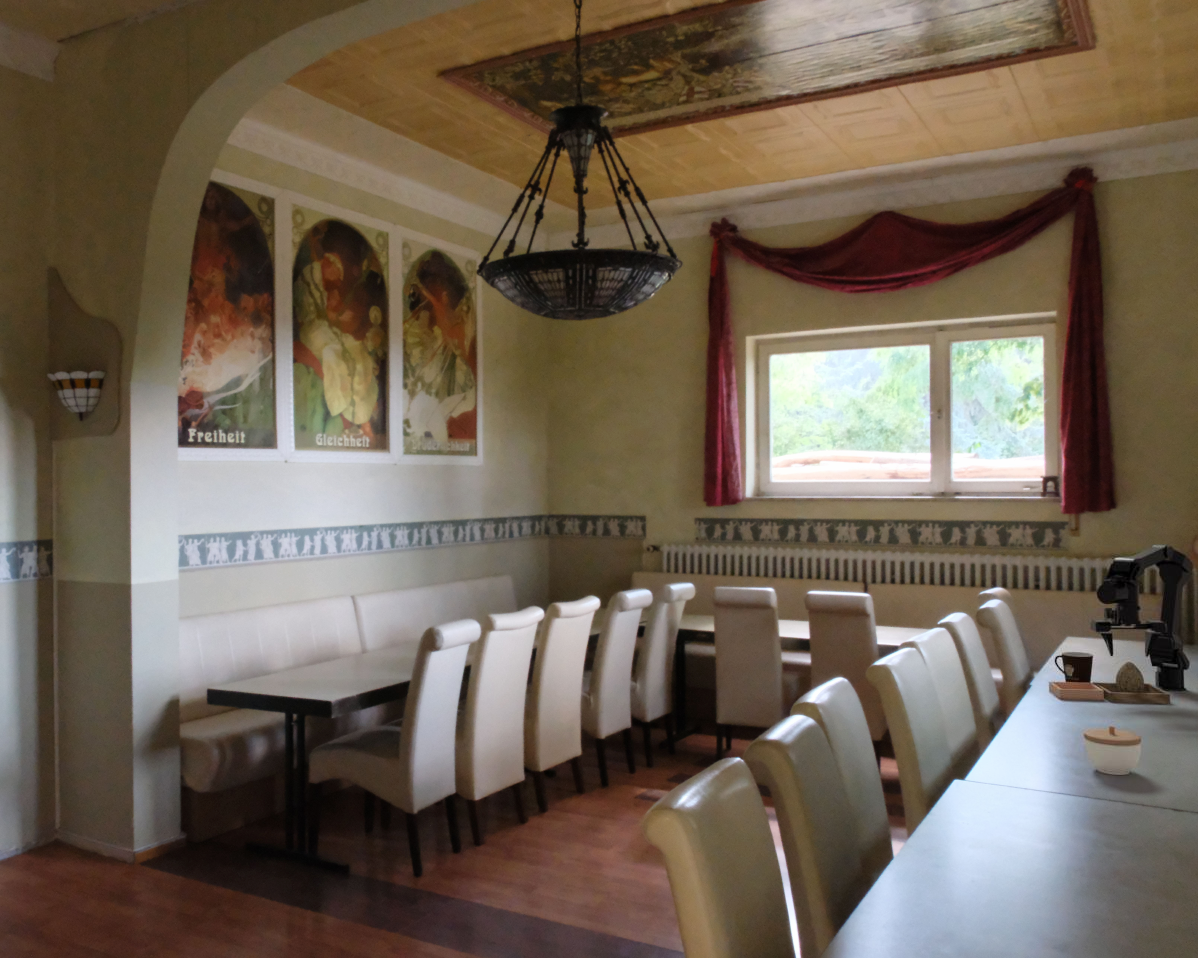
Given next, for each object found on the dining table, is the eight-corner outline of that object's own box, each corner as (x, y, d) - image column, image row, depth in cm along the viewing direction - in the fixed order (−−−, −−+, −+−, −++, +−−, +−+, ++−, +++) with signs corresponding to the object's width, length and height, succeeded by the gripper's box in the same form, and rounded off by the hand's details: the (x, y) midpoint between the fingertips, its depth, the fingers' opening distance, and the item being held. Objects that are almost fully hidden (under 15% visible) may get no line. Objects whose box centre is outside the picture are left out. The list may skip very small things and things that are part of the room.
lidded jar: (1140, 781, 198) (1139, 734, 198) (1082, 773, 203) (1080, 728, 204) (1143, 768, 207) (1142, 724, 207) (1087, 761, 213) (1086, 718, 213)
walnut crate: (1150, 691, 284) (1149, 683, 284) (1170, 703, 269) (1170, 694, 269) (1092, 690, 287) (1092, 682, 287) (1109, 701, 272) (1109, 692, 272)
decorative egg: (1148, 699, 274) (1147, 664, 274) (1120, 699, 275) (1119, 663, 275) (1139, 694, 281) (1138, 660, 281) (1112, 694, 282) (1111, 659, 282)
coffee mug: (1099, 690, 288) (1098, 656, 288) (1070, 690, 288) (1069, 656, 288) (1080, 682, 300) (1080, 650, 300) (1052, 682, 300) (1051, 650, 300)
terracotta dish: (1091, 691, 285) (1091, 682, 285) (1103, 700, 274) (1103, 690, 274) (1049, 691, 288) (1048, 681, 288) (1059, 699, 276) (1059, 689, 276)
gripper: (1152, 598, 285) (1154, 652, 284) (1084, 598, 288) (1085, 651, 288) (1167, 603, 274) (1168, 658, 274) (1095, 602, 277) (1097, 657, 277)
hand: (1129, 656), depth 278 cm, fingers open, 9 cm apart
